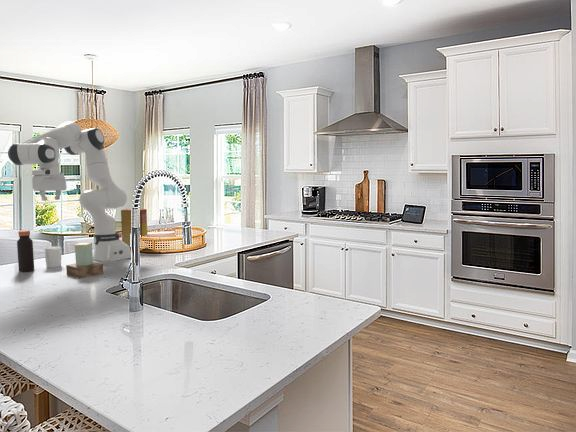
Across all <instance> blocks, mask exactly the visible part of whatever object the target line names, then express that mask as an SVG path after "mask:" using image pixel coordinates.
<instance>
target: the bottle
mask: <svg viewBox="0 0 576 432" xmlns="http://www.w3.org/2000/svg"><path fill="white" fill-rule="evenodd" d="M30 236H31V231H30V230H29V229H26V230H24V229H22V230H18V237H19V238H18V239H17V241H16V248H17V264H18V266H17V267H18V271H20V272H19V273H29V271H30V272H33V271H35V260H34V245H33V243H34V242H33V239H32V238H30Z"/></svg>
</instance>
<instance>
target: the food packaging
mask: <svg viewBox="0 0 576 432" xmlns="http://www.w3.org/2000/svg"><path fill="white" fill-rule="evenodd" d="M131 209H132V208H123V209H121V210H120V216H121V217H120V218H121V219H120V220H121V234H122V237H121V241H123V242H124V243H126V244H127V245H129V247H130V233H131ZM139 209H140V235H141V237H142V236H145V235H147V236H148V216H147V215H148V213H147V212H148V211H147V209H146V208H144V209H143V208H139ZM130 250H131V247H130ZM131 251H132V250H131Z"/></svg>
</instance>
